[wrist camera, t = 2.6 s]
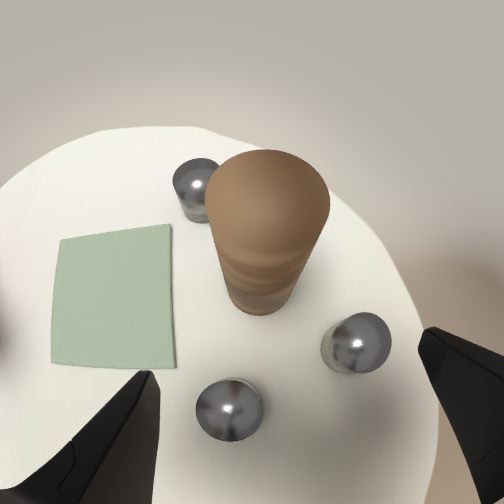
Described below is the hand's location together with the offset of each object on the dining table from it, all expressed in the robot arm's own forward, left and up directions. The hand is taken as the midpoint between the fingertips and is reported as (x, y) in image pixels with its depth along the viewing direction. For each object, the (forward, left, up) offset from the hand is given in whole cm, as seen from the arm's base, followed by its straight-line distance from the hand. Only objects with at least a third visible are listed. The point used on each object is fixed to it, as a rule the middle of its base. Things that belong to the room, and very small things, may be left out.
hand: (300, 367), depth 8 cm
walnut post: (0, +6, -12) cm, 14 cm away
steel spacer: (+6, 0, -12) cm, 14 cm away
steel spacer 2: (-3, -3, -12) cm, 13 cm away
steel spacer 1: (-4, +14, -12) cm, 20 cm away
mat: (-13, +6, -12) cm, 19 cm away
